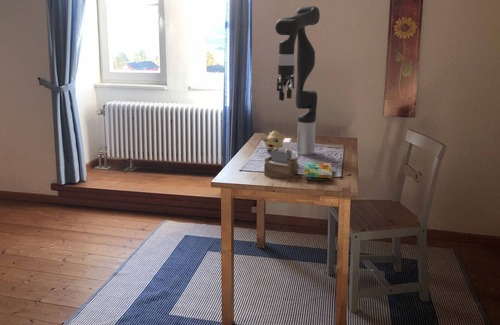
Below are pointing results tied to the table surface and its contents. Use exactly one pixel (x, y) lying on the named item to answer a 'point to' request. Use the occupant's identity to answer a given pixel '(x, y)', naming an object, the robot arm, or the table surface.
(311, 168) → the puzzle game
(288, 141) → the cylinder with rectangular tab
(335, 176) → the table surface
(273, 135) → the tan toy hamster
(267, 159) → the stand
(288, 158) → the block
